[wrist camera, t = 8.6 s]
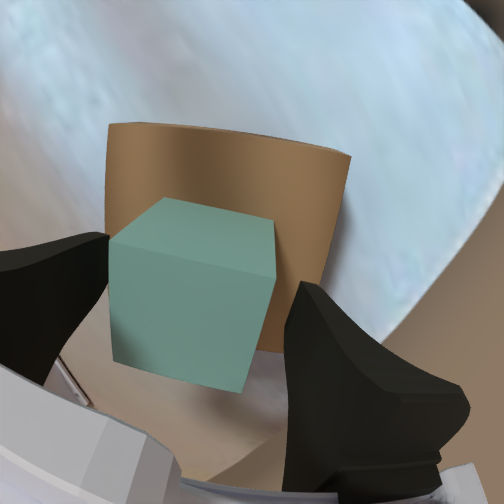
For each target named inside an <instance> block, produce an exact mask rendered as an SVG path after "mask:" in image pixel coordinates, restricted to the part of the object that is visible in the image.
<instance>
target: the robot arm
mask: <svg viewBox="0 0 504 504" xmlns="http://www.w3.org/2000/svg"><path fill="white" fill-rule="evenodd" d="M109 240H110V235H108V234H104V233H100V232H88V233H83V234H79V235H75V236H71V237H67V238H63V239H60V240H56V241H52V242H48V243H44V244H39V245H35V246H31V247H26V248H21V249H15V250H8V251H0V504H488V502H487V499H486V496H485V493H484V491H483V488H482V485H481V482H480V480H479V477H478V474H477V472H476V469H475V467H474V464H473V463H467V464H463V465H459V466H454V467H450V468H447V469H445V470H442V471H441V472H439V471H438V468H437V465H436V464H438V463H439V462H440V461H441V459H442V458H441V455H440V452H439V450H440V449H441V448H442V447H443V446H444V445H445V444H446V443H447V442H448V441H449V440H450V439H451V438H452V437H453V436H454V435H455V434H456V433H457V432H458V431H459V430H460V429H461V427H462V426H463V425H464V423H465V422H466V420H467V418H468V416H469V413H470V408H471V407H470V404H469V402H468V400H467V398H466V396H465V394H464V392H463V390H462V389H461V387H460V386H459V385H456V384H454V383H451V382H449V381H446V380H444V379H441V378H439V377H436V376H434V375H431V374H429V373H427V372H425V371H423V370H421V369H419V368H417V367H415V366H414V365H412V364H410V363H408V362H406V361H405V360H403V359H401V358H400V357H398V356H397V355H395V354H394V353H392V352H391V351H389V350H388V349H386V348H385V347H383V346H382V345H381V344H379V343H378V342H377V341H376V340H374V339H373V338H372V337H370V336H369V335H368V334H367V333H366V332H364V331H363V330H362V329H361V328H360V327H359V326H358V325H357V324H356V323H355V322H354V321H353V320H352V319H351V318H350V317H348V316H347V315H346V313H345V312H344V311H343V310H342V309H341V308H340V307H339V306H338V305H337V304H336V303H335V302H334V301H333V300H332V299H331V298H330V297H329V296H328V294H327V293H326V292H325V291H324V290H323V289H322V288H321V287H320V286H318V285H317V284H314V283H310V282H305V281H301V280H300V283H299V286H298V289H297V292H296V295H295V298H294V300H293V303H292V306H291V309H290V311H289V314H288V317H287V320H286V322H285V325H284V345H283V349H284V360H285V370H286V380H287V390H288V432H287V447H286V458H285V468H284V477H283V485H282V491H281V492H279V491H267V490H256V489H247V488H239V487H232V486H225V485H219V484H213V483H208V482H203V481H198V480H193V479H188V478H184V477H181V469H180V466H179V464H178V462H177V460H176V458H175V456H174V454H173V453H172V452H171V451H170V450H169V449H168V448H167V447H165V446H164V445H163V444H161V443H160V442H159V441H157V440H156V439H155V438H153V437H152V436H151V435H149V434H148V433H147V432H145V431H143V430H141V429H139V428H137V427H134V426H132V425H130V424H128V423H126V422H124V421H121V420H119V419H117V418H115V417H113V416H111V415H108V414H105V413H103V412H100V411H97V410H95V409H92V408H90V407H87V406H86V405H88V403H89V401H88V399H87V398H86V396H85V395H84V394H83V392H82V391H81V390H80V388H79V387H78V386H77V384H76V383H75V381H74V380H73V379H72V377H71V376H70V374H69V373H68V371H67V370H66V368H65V367H64V365H63V364H62V362H61V361H60V359H59V358H58V355H59V353H60V352H61V350H62V348H63V346H64V345H65V343H66V342H67V340H68V339H69V337H70V336H71V335H72V334H73V332H74V331H75V330H76V328H77V327H78V326H79V324H80V323H81V322H82V321H83V319H84V318H85V317H86V316H87V314H88V313H89V312H90V310H91V309H92V308H93V307H94V305H95V304H96V303H97V301H98V300H99V298H100V296H101V295H102V293H103V291H104V290H105V288H106V286H107V284H108V282H109Z"/></svg>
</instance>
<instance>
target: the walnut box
mask: <svg viewBox="0 0 504 504" xmlns="http://www.w3.org/2000/svg"><path fill="white" fill-rule="evenodd" d="M350 161H351V156H350V155H347V154H345V153H342V152H340V151H337V150H335V149H331V148H327V147H322V146H318V145H313V144H308V143H303V142H298V141H293V140H288V139H282V138H276V137H271V136H265V135H258V134H252V133H245V132H238V131H231V130H223V129H215V128H207V127H197V126H187V125H176V124H163V123H147V122H132V123H114V124H109V128H108V140H107V153H106V172H105V234H108V235H110V239H111V238H113V237H114V236H115V235H116V234H118V233H119V232H120V231H121V230H123V229H124V228H125V227H126V226H127V225H129V224H130V223H131V222H133V221H134V220H135V219H136V218H138V217H139V216H140V215H141V214H143V213H144V212H145V211H147V210H148V209H149V208H151V207H152V206H153V205H154V204H156V203H157V202H158V201H160V200H161V199H162V198H164V197H166V198H171V199H176V200H181V201H186V202H191V203H196V204H201V205H206V206H210V207H215V208H220V209H225V210H229V211H234V212H238V213H243V214H248V215H252V216H257V217H261V218H265V219H270V220H274V238H275V259H276V282H275V285H274V288H273V292H272V295H271V299H270V302H269V306H268V309H267V312H266V316H265V319H264V322H263V326H262V329H261V332H260V336H259V339H258V342H257V346H256V349H255V350H262V351H269V352H277V353H284V349H283V345H284V325H285V322H286V320H287V317H288V314H289V311H290V309H291V306H292V303H293V300H294V298H295V295H296V292H297V289H298V286H299V283H300V280H301V281H305V282H310V283H314V284H317V285H318V286H319V285H320V281H321V278H322V274H323V271H324V267H325V263H326V260H327V256H328V252H329V249H330V245H331V241H332V237H333V233H334V229H335V225H336V221H337V217H338V213H339V209H340V205H341V201H342V197H343V192H344V188H345V184H346V179H347V175H348V170H349V165H350ZM108 295H109V282H108Z"/></svg>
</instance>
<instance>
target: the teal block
mask: <svg viewBox="0 0 504 504" xmlns="http://www.w3.org/2000/svg"><path fill="white" fill-rule="evenodd" d="M275 282H276V259H275V238H274V220H270V219H265V218H261V217H257V216H252V215H248V214H243V213H238V212H234V211H229V210H225V209H220V208H215V207H210V206H206V205H201V204H196V203H191V202H186V201H181V200H176V199H171V198H166V197H164V198H162V199H161V200H160V201H158V202H157V203H156V204H154V205H153V206H152V207H151V208H149V209H148V210H147V211H145V212H144V213H143V214H141V215H140V216H139V217H138V218H136V219H135V220H134V221H133V222H131V223H130V224H129V225H127V226H126V227H125V228H124V229H123V230H121V231H120V232H119V233H118V234H116V235H115V236H114V237H113V238H111V239H110V240H109V308H110V327H111V341H112V353H113V361H115V362H118V363H121V364H124V365H127V366H130V367H134V368H137V369H140V370H144V371H147V372H151V373H154V374H158V375H161V376H165V377H169V378H173V379H177V380H181V381H185V382H189V383H193V384H197V385H202V386H206V387H211V388H215V389H220V390H225V391H230V392H235V393H241V394H242V391H243V387H244V384H245V381H246V378H247V375H248V372H249V368H250V365H251V362H252V359H253V355H254V352H255V349H256V346H257V342H258V339H259V336H260V332H261V329H262V326H263V322H264V319H265V316H266V312H267V309H268V306H269V302H270V299H271V295H272V292H273V288H274V285H275Z"/></svg>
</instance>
